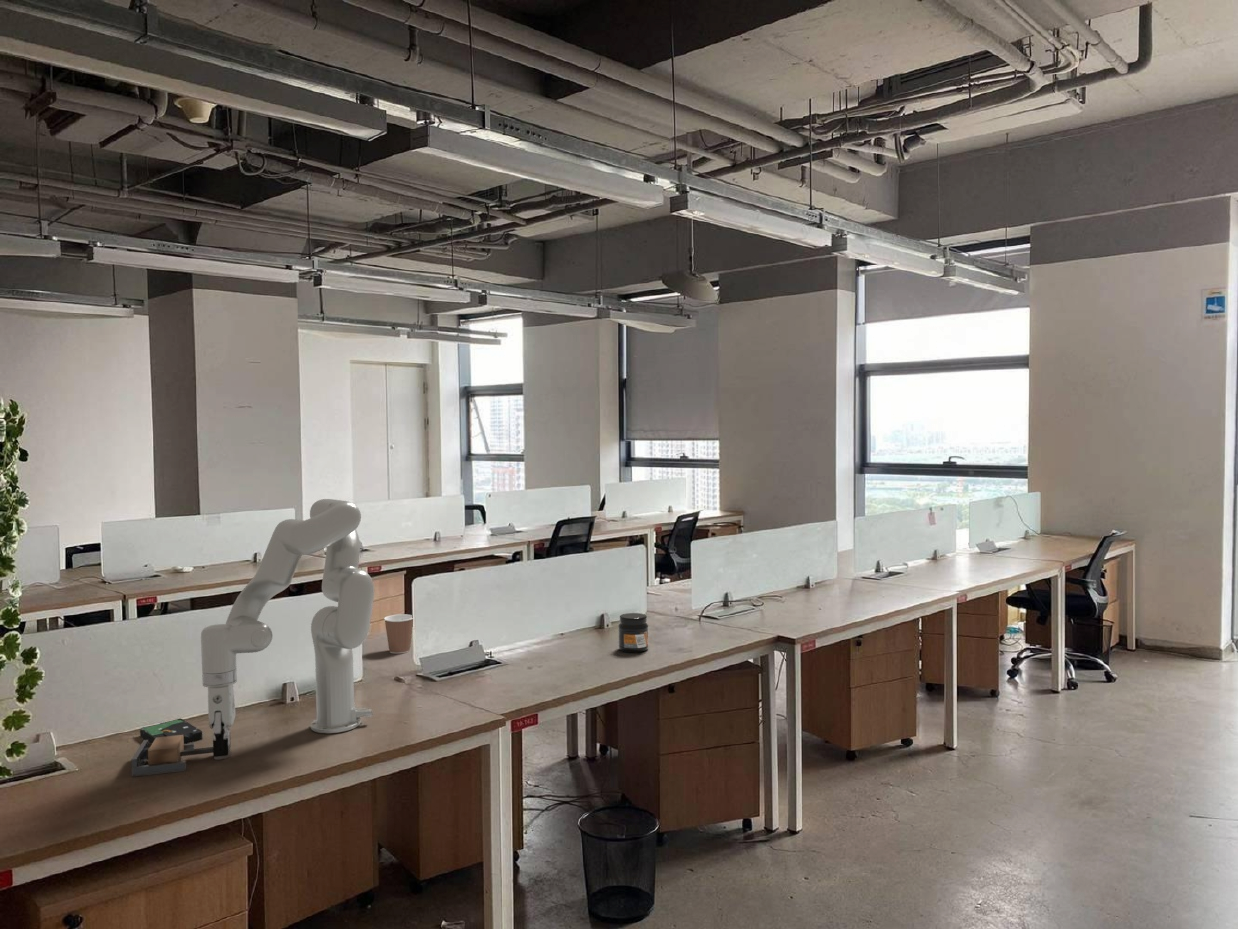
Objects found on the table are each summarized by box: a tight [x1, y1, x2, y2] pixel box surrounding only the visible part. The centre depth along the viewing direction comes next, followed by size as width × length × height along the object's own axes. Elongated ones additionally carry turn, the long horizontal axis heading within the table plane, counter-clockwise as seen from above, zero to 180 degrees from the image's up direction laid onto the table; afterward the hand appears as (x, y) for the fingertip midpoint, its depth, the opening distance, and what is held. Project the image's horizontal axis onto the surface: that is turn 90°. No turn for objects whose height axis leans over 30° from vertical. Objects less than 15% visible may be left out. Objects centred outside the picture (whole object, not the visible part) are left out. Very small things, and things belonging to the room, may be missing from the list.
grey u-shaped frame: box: [131, 739, 195, 778], centre depth 208 cm, size 11×13×4 cm
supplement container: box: [617, 612, 649, 654], centre depth 308 cm, size 10×10×12 cm
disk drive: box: [139, 717, 203, 745], centre depth 225 cm, size 10×3×15 cm
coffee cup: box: [383, 613, 414, 655], centre depth 309 cm, size 10×10×12 cm
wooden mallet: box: [147, 729, 231, 765], centre depth 209 cm, size 17×9×6 cm, turn 107°
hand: (222, 751), depth 211 cm, fingers closed on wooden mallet, 3 cm apart
